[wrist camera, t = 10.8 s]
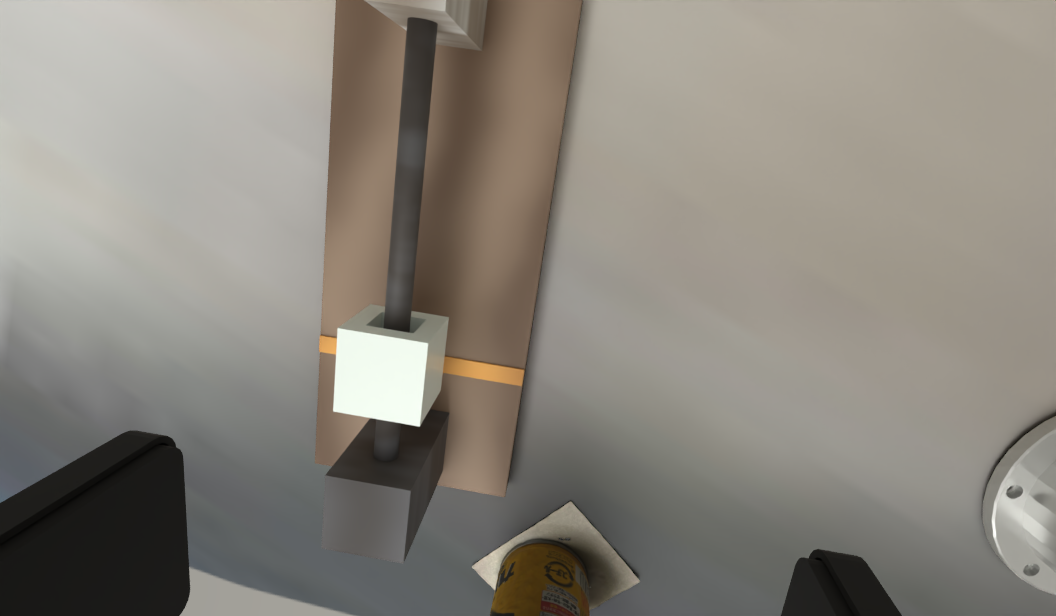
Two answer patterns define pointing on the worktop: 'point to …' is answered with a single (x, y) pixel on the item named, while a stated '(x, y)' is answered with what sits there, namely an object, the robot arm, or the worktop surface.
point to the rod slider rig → (437, 238)
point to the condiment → (555, 569)
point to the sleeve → (389, 366)
